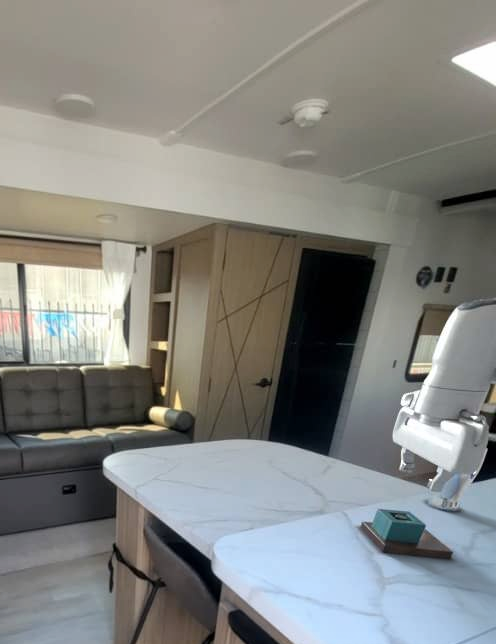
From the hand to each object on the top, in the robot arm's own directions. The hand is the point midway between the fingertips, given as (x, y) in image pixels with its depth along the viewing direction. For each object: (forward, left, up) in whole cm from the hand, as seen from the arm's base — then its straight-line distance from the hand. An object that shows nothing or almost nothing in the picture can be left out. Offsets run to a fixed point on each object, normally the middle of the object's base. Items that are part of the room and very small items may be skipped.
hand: (418, 480), depth 75 cm
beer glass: (-21, -22, -13) cm, 33 cm away
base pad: (-1, 0, -13) cm, 13 cm away
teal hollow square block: (+1, 0, -12) cm, 11 cm away
